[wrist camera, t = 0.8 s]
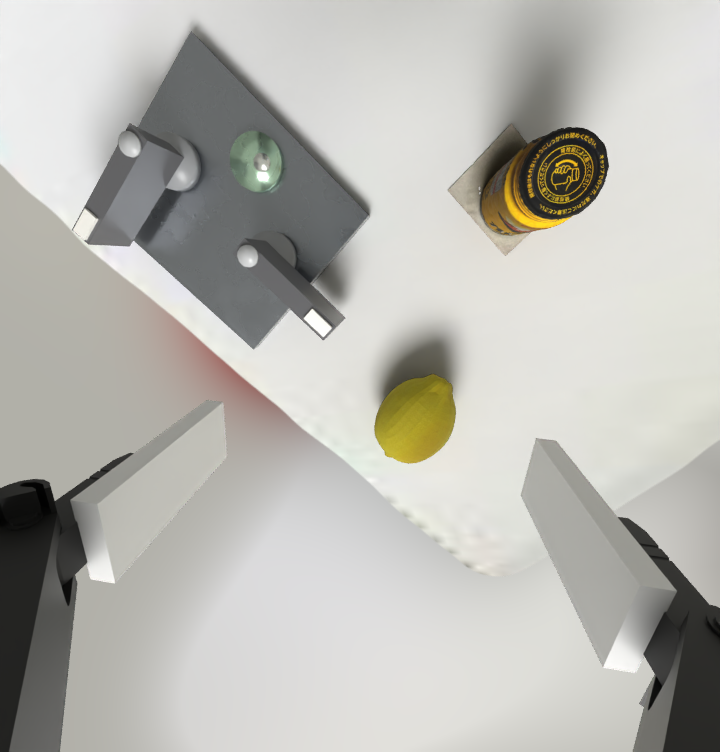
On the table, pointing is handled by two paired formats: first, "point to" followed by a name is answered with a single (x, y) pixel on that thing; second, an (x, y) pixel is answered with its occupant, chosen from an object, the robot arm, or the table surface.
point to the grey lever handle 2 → (287, 280)
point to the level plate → (238, 194)
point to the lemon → (416, 419)
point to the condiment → (532, 183)
